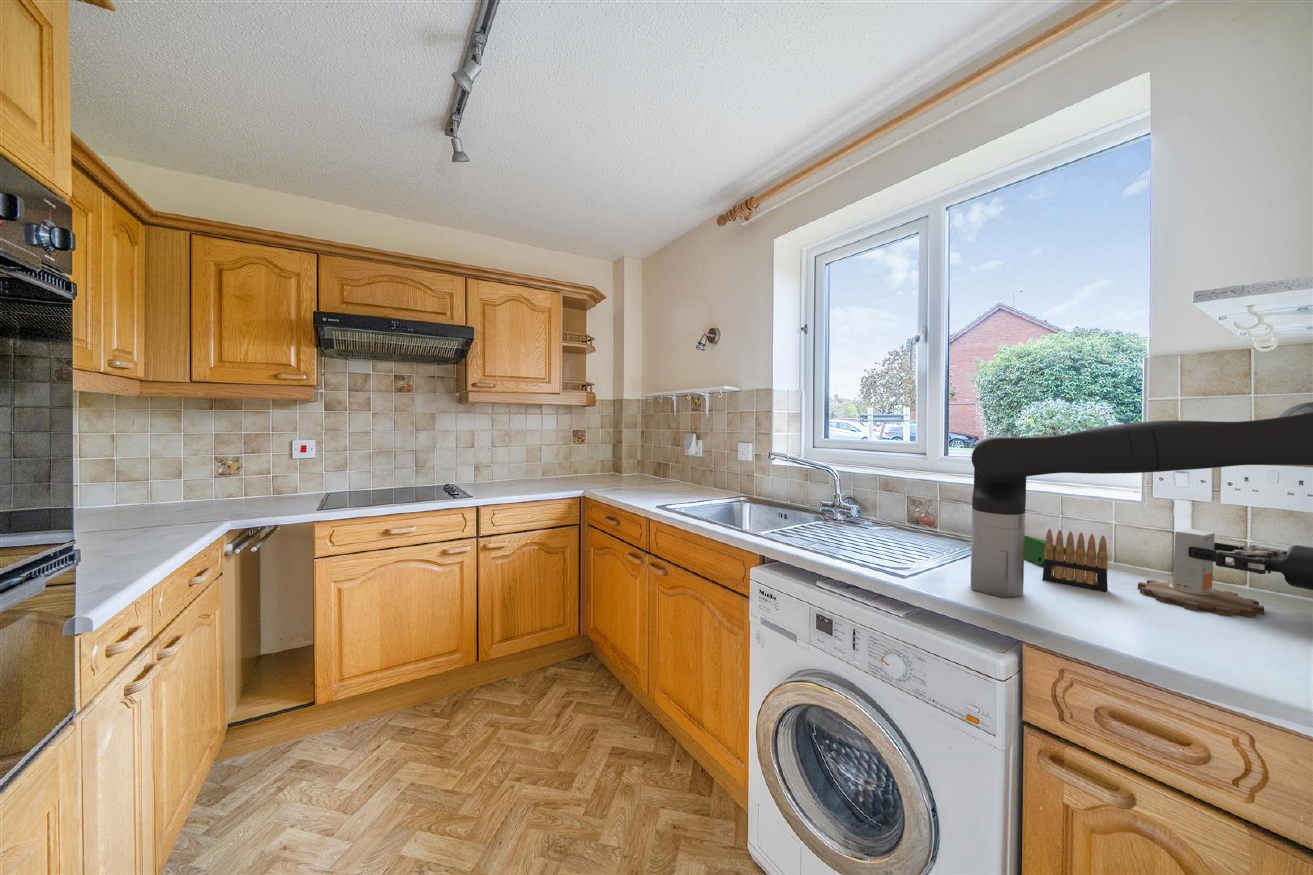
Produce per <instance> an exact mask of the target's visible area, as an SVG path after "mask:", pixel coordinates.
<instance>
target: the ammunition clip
mask: <svg viewBox="0 0 1313 875" xmlns="http://www.w3.org/2000/svg"><path fill="white" fill-rule="evenodd" d="M1053 540H1054V539H1053V533H1052V530H1051V528H1048V529H1047V531H1046V537H1045V541H1046V543H1045V547H1044V566H1043V571H1042V581H1043V582H1047V583H1053V584H1059V585H1063V586H1067V587H1068V586H1069V587H1075V588H1080V589H1083V590H1091V591H1096V592H1100V593H1106V594H1107V593H1108V591H1109V590H1108V588H1109V587H1108V586H1109V585H1108V565H1109V564H1108V563H1109V562H1108V561H1109V560H1108V558H1109V557H1108V550H1107V549H1108V548H1107V545H1108V544H1107V540H1106V537H1105V535H1101V537H1100V539H1099V543H1098V551H1096V539H1095V536H1094V534H1093V533H1091V534H1090V535H1089V537H1088V541H1087V549H1086V548H1085V537H1084V535H1083V533H1082V532H1080V533H1079V534H1078V537H1077V540H1076V541H1077V542H1076V549H1075V542H1074V540H1075V539H1074V534H1073V533H1072V531H1069V532H1068V533H1067V537H1066V544H1065V547H1064V537H1063V532H1062V530H1061V529H1059V530H1058V532H1057V533H1056V539H1055V545H1056V546H1055V554H1054V547H1053V545H1054V541H1053ZM1064 548H1066V549H1065V555H1064Z"/></svg>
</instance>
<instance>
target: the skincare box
mask: <svg viewBox="0 0 1313 875" xmlns="http://www.w3.org/2000/svg"><path fill="white" fill-rule="evenodd" d="M1215 534H1216V533H1215V532H1212V531H1204V530H1200V529H1192V528H1184V529H1180V530H1176V531H1174V549H1173V553H1174V554H1173V570H1172V581H1173V587H1174V588H1178V589H1182V590H1187V591H1192V592H1196V593H1203V592H1205V591H1208V590H1211V589H1213V581H1214V580H1213V579H1214V576H1213V575H1214V562H1212V561H1207V560H1201V559H1196V558H1191V557H1189V555H1188V549H1189V547H1192V546H1194V547H1200V548H1205V549H1211V550H1214V542H1215V538H1216V537H1215V536H1216V535H1215Z"/></svg>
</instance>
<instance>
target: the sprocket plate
mask: <svg viewBox="0 0 1313 875" xmlns="http://www.w3.org/2000/svg"><path fill="white" fill-rule="evenodd" d="M1137 590H1139V594H1141V595H1142V596H1147V597H1149V596H1150V597H1153V598H1155V601H1156V602H1157V601H1158V602H1160V603H1162V604H1173V605H1176V606H1180V607H1183V608H1184V609H1186V610H1190V611H1194V612H1195V611H1196V612H1198V611H1203V612H1207V613H1208V612H1209V613H1214V612H1215V613H1214V614H1217V615H1218V616H1225V617H1231V616H1232V615H1237V616H1238V615H1239V616H1244V617H1246V618H1257V614H1259V615H1264V614H1265V606H1263V605H1260V602H1259V601H1257V600H1256V599H1253V598H1245V597H1242V596H1239V594H1238V593H1236V592H1232V591H1228V590H1226V591H1223V590H1219V589H1214V588H1212V589H1211V590H1208V591H1205V592H1203V593H1196V592H1192V591H1187V590H1182V589H1178V588H1174V587H1173V580H1168V581H1158V580H1153V579H1152V580H1151V579H1150V580H1149V579H1148V580H1146V582H1142V581H1139V582H1138V583H1137Z"/></svg>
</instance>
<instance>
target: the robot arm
mask: <svg viewBox="0 0 1313 875" xmlns="http://www.w3.org/2000/svg"><path fill="white" fill-rule="evenodd" d="M971 463H972V466H973V488H972V489H973V491H972V497H971V498H972V500H971V506H972V508H971V549H970V551H971V552H970V553H971V554H970V586H971V590H973V591H977V592H980V593H985V594H988V595H993V596H997V597H998V598H1000V597H1001V598H1003V599H1006V598H1017V597H1022V596H1023V595H1024V585H1025V584H1024V581H1025V579H1024V578H1025V575H1024V574H1025V573H1024V572H1025V558H1024V539H1025V535H1026V534H1025V533H1026V506H1027V505H1026V502H1027V501H1026V500H1027V477H1033V476H1043V475H1050V474H1052V475H1053V474H1095V475H1098V474H1101V475H1102V474H1106V475H1107V474H1108V475H1110V474H1141V473H1142V474H1143V473H1161V472H1163V473H1164V472H1172V471H1173V472H1174V471H1189V470H1191V471H1192V470H1203V469H1206V470H1207V469H1216V468H1225V467H1236V466H1237V467H1238V466H1256V465H1257V466H1261V465H1262V466H1265V465H1267V466H1268V465H1270V466H1273V465H1274V466H1287V465H1288V466H1313V401H1311V402H1304V403H1300V404H1296V405H1294V406H1291V407H1289V408H1288V409H1286V410H1284V411H1283V412H1282V413H1281V414H1280V415H1279V416H1278V417H1272V418H1263V419H1255V420H1245V421H1244V420H1243V421H1242V420H1241V421H1214V420H1213V421H1212V420H1211V421H1209V420H1208V421H1207V420H1152V421H1141V422H1140V421H1139V422H1131V423H1122V424H1119V423H1118V424H1114V425H1106V426H1100V427H1094V428H1088V429H1084V430H1079V431H1075V432H1070V433H1069V432H1068V433H1066V434H1065V433H1064V434H1059V435H1051V436H1050V435H1049V436H1048V435H1047V436H1031V437H1030V436H1029V437H1028V436H1027V437H1014V436H1013V437H1011V436H1010V437H1009V436H1006V435H995V436H993V435H992V436H990V437H987V438H984V439H983V440H981V441H980V442H979V443H977V445H976V446H975V447H974V449H973V450H972V454H971ZM1188 555H1189V557H1191V558H1196V559H1201V560H1207V561H1212V562H1213V563H1215V566H1217V567H1219V568H1227V569H1232V570H1238V571H1243V572H1244V571H1245V572H1250V573H1255V574H1257V575H1266V574H1272V572H1273V573H1281V574H1282V575H1283V576H1284V580H1285V582H1286V583H1287V584H1288V585H1289V586H1291V587H1295V588H1299V589H1304V590H1309V591H1313V547H1311V546H1304V545H1292V546H1290V548H1288V549H1287V550H1281V549H1277V548H1269V547H1262V546H1258V545H1255V544H1254V545H1249V546H1247V545H1243V544H1242V545H1235V544H1228V543H1223V542H1216V541H1214V550H1211V549H1205V548H1200V547H1194V546H1192V547H1189V549H1188ZM1227 558H1229V559H1232V561H1228V560H1227V561H1226V559H1227Z"/></svg>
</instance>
